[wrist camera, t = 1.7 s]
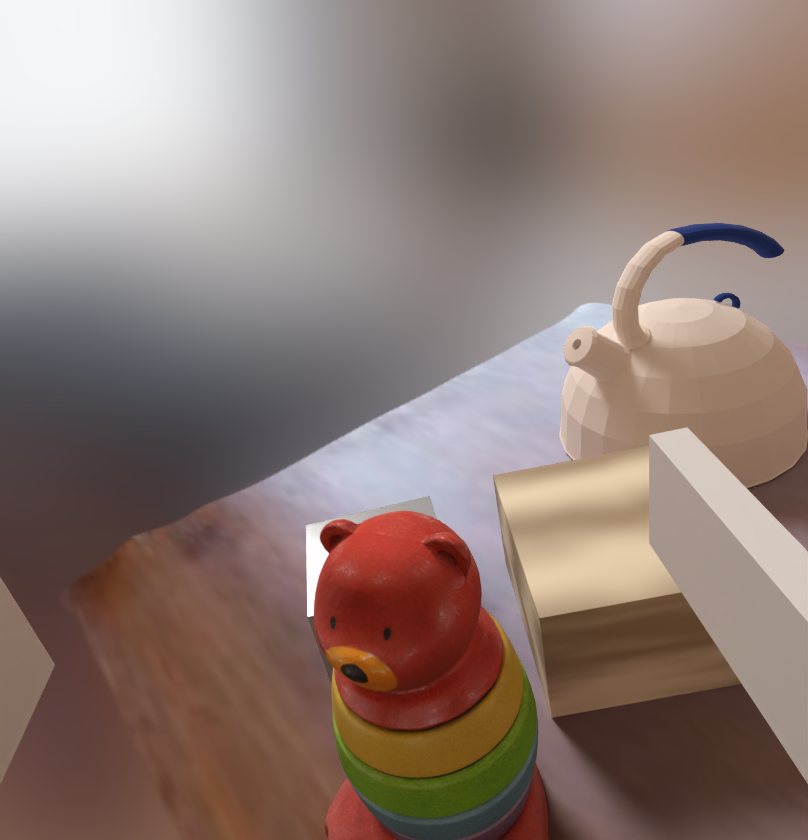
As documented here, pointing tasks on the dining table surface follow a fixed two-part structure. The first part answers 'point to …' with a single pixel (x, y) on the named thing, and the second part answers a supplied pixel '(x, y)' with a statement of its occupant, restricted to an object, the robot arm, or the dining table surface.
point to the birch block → (600, 587)
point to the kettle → (686, 372)
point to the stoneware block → (319, 554)
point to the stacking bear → (423, 690)
